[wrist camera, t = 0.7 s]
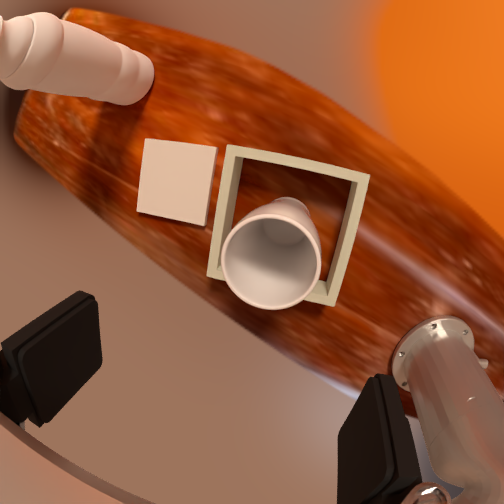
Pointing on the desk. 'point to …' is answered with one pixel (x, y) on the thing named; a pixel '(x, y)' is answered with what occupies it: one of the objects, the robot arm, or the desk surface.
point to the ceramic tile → (176, 180)
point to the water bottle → (70, 61)
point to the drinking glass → (273, 255)
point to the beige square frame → (234, 160)
